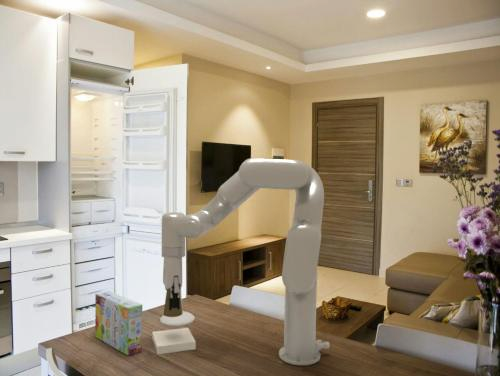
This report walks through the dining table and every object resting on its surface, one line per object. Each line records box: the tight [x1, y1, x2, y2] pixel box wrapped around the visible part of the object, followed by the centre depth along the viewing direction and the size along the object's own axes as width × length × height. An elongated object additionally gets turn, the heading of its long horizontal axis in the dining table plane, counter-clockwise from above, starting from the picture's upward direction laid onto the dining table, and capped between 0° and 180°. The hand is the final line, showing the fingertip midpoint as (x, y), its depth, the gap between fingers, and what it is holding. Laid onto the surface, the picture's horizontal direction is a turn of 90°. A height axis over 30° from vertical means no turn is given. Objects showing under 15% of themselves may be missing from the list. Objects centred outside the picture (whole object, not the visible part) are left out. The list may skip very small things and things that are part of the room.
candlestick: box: [159, 288, 196, 327], centre depth 158 cm, size 13×13×30 cm
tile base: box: [151, 327, 197, 355], centre depth 137 cm, size 12×12×2 cm
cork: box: [163, 284, 183, 317], centre depth 136 cm, size 6×6×11 cm
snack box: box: [94, 290, 143, 357], centre depth 137 cm, size 21×6×15 cm, turn 47°
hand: (173, 306), depth 136 cm, fingers closed on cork, 3 cm apart
